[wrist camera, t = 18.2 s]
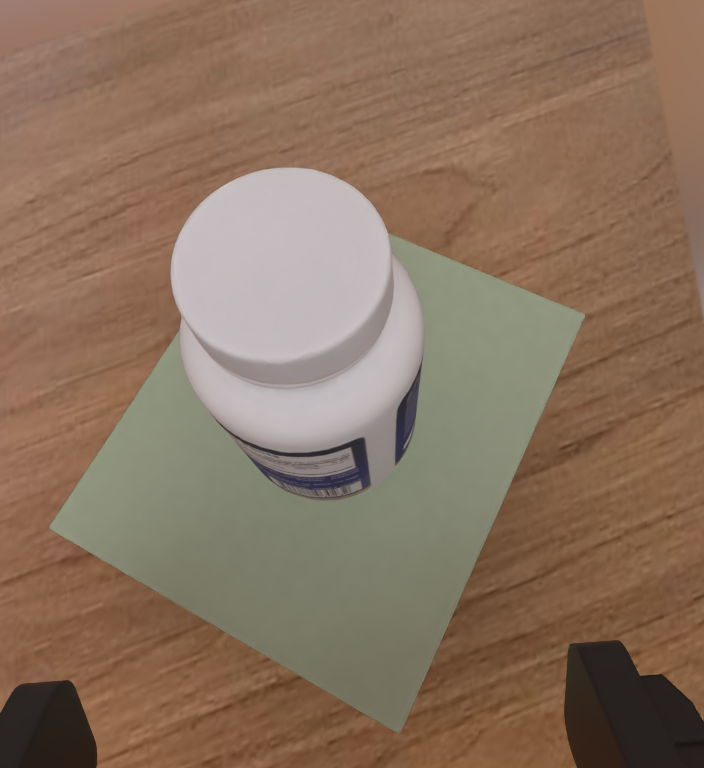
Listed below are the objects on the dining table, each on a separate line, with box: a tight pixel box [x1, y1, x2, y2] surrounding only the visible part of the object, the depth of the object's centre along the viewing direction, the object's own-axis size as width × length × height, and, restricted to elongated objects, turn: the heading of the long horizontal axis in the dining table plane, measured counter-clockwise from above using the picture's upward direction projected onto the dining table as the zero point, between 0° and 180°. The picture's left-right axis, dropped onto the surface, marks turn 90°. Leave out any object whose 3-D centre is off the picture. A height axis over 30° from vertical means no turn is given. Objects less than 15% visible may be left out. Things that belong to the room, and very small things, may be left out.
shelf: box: [49, 233, 585, 733], centre depth 25 cm, size 12×14×10 cm
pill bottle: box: [170, 168, 424, 502], centre depth 16 cm, size 5×5×10 cm
